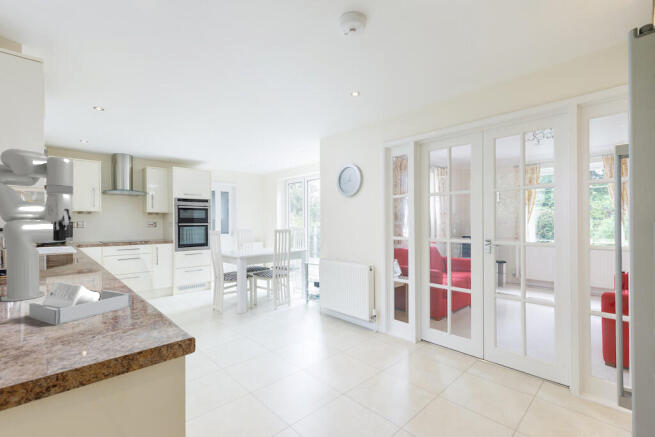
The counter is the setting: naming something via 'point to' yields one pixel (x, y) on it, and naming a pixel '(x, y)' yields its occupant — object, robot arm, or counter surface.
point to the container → (69, 295)
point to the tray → (80, 308)
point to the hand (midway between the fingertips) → (59, 240)
